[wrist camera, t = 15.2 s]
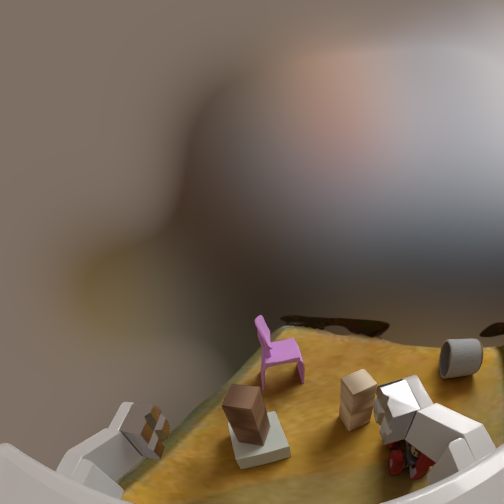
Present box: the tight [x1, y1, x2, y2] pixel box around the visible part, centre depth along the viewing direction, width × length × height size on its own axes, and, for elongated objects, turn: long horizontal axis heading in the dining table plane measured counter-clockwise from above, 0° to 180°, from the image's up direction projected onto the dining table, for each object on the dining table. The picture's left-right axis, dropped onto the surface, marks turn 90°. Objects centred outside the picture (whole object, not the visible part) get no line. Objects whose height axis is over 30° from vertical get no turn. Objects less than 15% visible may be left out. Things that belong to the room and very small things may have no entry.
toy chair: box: [255, 315, 305, 391], centre depth 49 cm, size 8×9×15 cm
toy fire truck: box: [387, 439, 436, 480], centre depth 25 cm, size 7×12×10 cm, turn 166°
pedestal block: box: [228, 411, 291, 469], centre depth 35 cm, size 8×8×4 cm
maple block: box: [339, 369, 377, 431], centre depth 35 cm, size 4×4×10 cm
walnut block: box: [222, 384, 270, 446], centre depth 33 cm, size 4×4×10 cm
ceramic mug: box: [439, 339, 483, 379], centre depth 38 cm, size 11×8×8 cm
